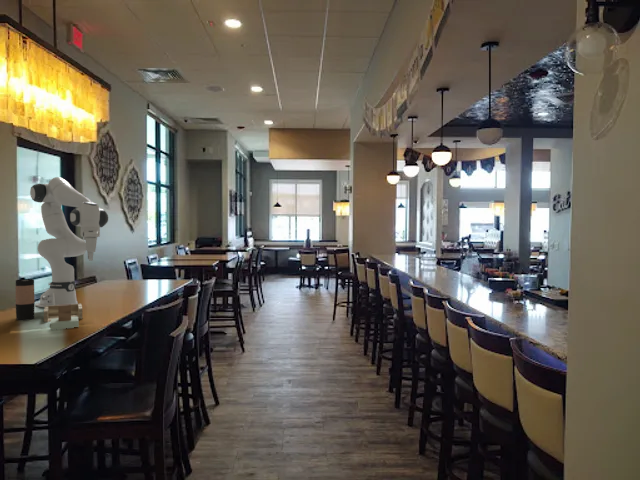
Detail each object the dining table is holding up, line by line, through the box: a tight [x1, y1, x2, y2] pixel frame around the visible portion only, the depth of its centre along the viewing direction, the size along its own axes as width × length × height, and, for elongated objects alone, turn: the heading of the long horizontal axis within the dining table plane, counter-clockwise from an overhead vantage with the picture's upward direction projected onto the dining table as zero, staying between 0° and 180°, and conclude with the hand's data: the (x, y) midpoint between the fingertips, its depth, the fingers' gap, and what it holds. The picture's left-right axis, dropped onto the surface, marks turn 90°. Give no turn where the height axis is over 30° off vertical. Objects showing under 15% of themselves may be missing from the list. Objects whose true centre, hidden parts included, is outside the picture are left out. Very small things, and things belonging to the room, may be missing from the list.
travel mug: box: [15, 278, 36, 321], centre depth 213 cm, size 8×8×20 cm
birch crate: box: [43, 302, 83, 323], centre depth 218 cm, size 16×16×6 cm
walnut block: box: [58, 304, 71, 321], centre depth 203 cm, size 5×5×7 cm
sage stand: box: [50, 317, 80, 331], centre depth 203 cm, size 11×11×3 cm
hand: (90, 259), depth 228 cm, fingers open, 8 cm apart
